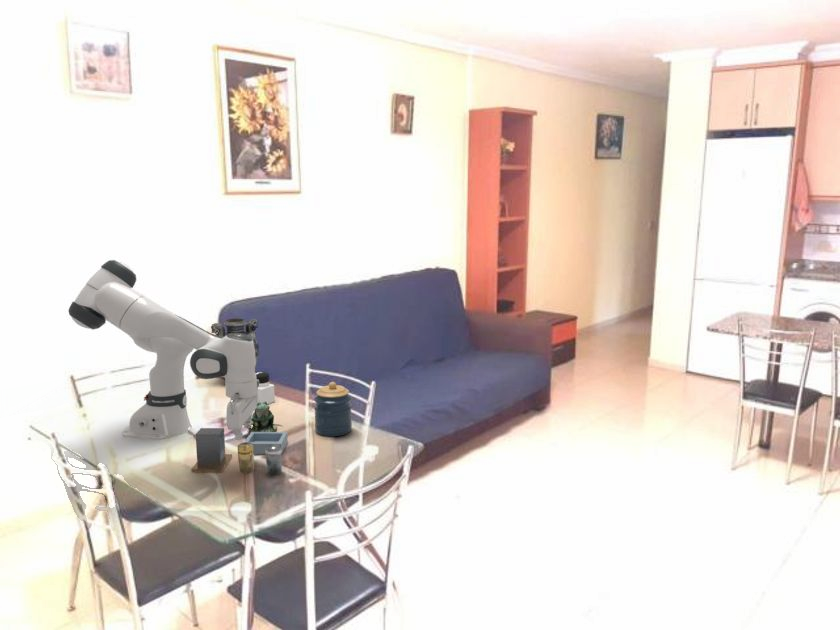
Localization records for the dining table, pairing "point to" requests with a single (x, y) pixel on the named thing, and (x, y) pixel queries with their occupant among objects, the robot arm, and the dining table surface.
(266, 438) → the tray
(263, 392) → the medicine bottle
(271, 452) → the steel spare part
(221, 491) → the dining table surface
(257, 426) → the frog figurine
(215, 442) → the block
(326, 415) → the canister
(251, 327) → the decorative vase
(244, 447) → the gold lidded glass jar
